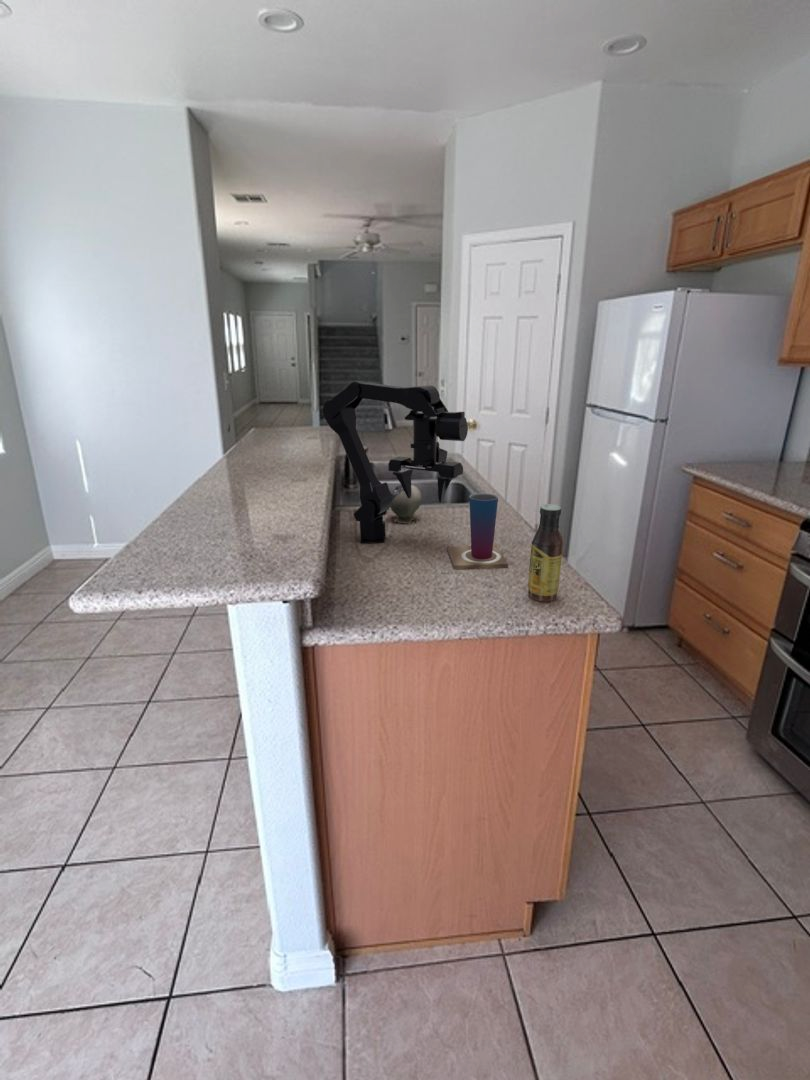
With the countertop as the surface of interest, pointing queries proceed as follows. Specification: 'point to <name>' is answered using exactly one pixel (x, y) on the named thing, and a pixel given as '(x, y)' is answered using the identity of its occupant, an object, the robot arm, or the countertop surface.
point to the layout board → (464, 559)
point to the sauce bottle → (546, 556)
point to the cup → (482, 524)
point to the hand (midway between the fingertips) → (424, 500)
